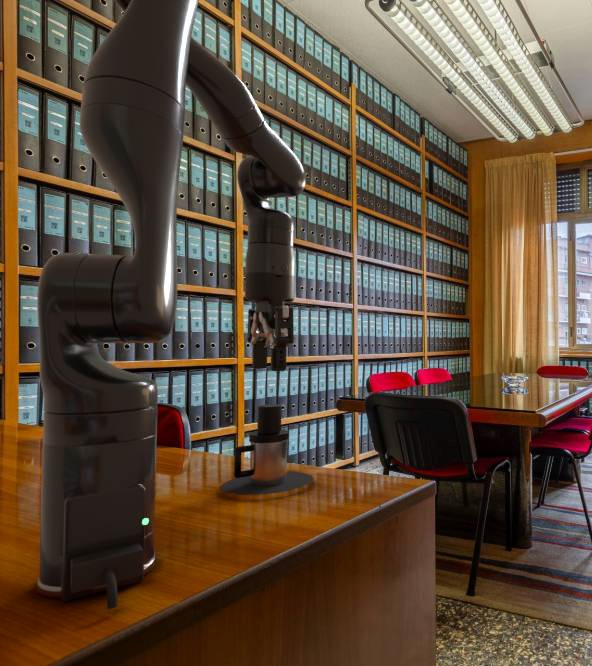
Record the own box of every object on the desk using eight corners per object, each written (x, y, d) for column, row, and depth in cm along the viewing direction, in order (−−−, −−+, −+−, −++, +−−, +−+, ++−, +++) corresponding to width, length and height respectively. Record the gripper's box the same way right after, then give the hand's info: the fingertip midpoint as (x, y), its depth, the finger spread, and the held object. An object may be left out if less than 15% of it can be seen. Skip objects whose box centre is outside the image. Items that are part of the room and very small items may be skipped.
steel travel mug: (280, 475, 87) (281, 402, 88) (293, 482, 83) (294, 405, 83) (228, 484, 81) (229, 406, 82) (239, 492, 77) (241, 410, 77)
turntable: (327, 488, 83) (327, 482, 83) (236, 507, 73) (236, 500, 73) (293, 472, 93) (293, 467, 93) (209, 487, 83) (209, 481, 83)
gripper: (232, 274, 86) (230, 368, 86) (262, 266, 76) (260, 372, 76) (277, 279, 91) (275, 367, 91) (310, 271, 81) (308, 371, 81)
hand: (268, 369), depth 83 cm, fingers open, 8 cm apart
